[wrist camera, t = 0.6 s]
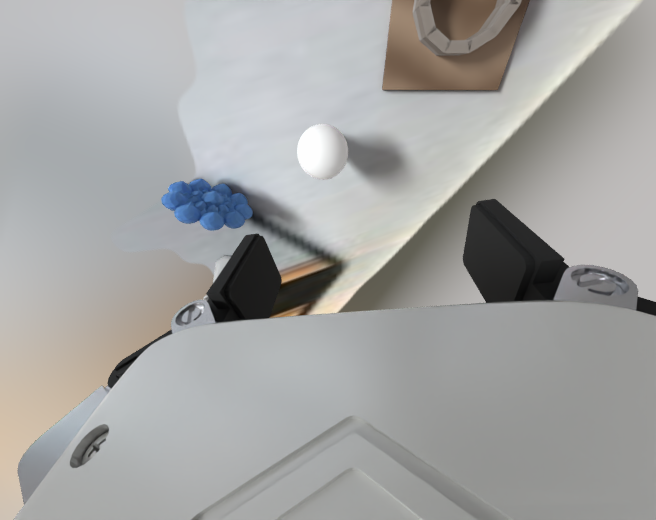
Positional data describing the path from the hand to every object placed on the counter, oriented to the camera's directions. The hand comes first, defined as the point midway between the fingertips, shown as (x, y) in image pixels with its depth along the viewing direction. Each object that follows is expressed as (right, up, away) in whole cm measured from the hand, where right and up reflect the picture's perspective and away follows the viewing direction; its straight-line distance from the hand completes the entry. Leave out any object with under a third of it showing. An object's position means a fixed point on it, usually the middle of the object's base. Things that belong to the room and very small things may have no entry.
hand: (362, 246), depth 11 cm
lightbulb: (-2, +17, +24) cm, 29 cm away
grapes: (-19, +11, +31) cm, 38 cm away
